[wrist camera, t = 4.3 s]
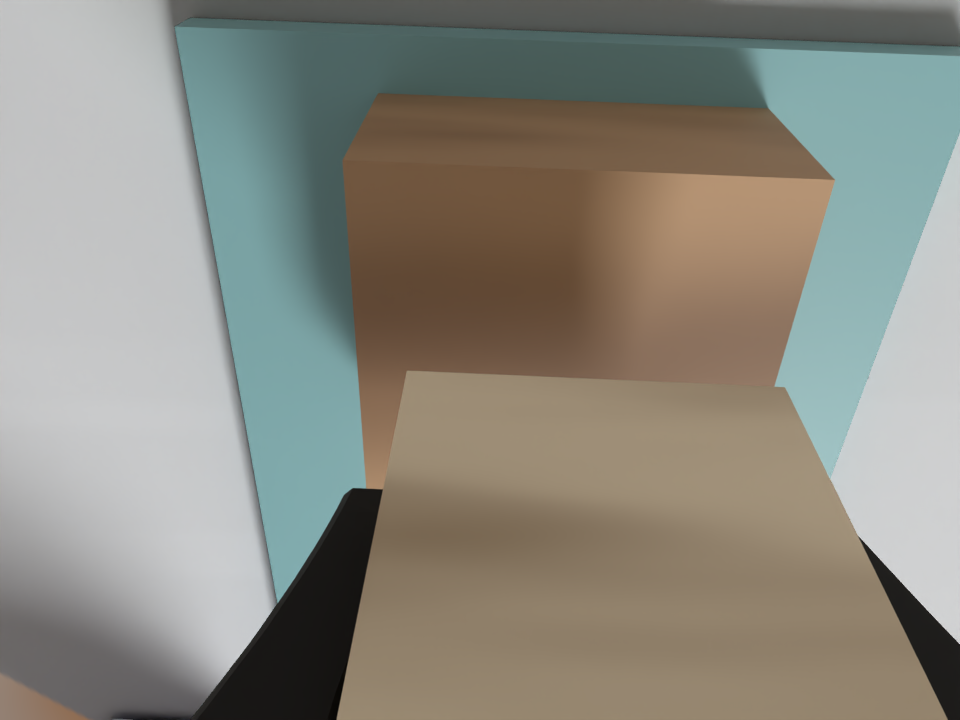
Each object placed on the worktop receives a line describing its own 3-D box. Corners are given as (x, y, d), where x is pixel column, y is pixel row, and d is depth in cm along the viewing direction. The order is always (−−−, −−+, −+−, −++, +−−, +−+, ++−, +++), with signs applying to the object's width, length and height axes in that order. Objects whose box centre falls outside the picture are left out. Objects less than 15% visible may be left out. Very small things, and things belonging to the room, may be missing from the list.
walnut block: (696, 417, 18) (732, 530, 15) (391, 403, 18) (368, 512, 15) (768, 108, 14) (835, 179, 11) (378, 92, 14) (342, 159, 11)
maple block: (711, 628, 12) (803, 997, 8) (414, 614, 12) (367, 970, 8) (784, 386, 9) (968, 759, 6) (407, 370, 9) (335, 726, 6)
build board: (739, 681, 25) (745, 704, 24) (297, 659, 25) (291, 682, 24) (965, 46, 14) (987, 57, 13) (190, 17, 14) (174, 26, 14)
